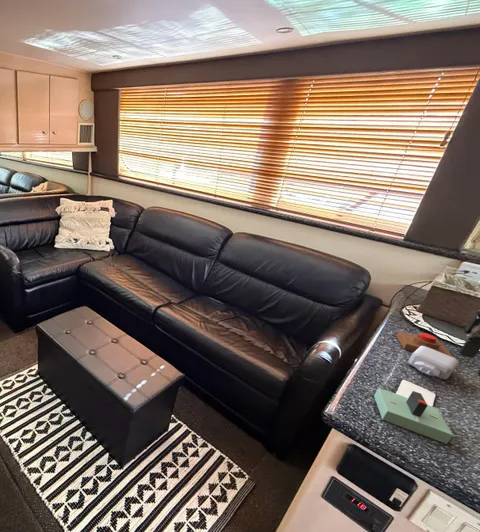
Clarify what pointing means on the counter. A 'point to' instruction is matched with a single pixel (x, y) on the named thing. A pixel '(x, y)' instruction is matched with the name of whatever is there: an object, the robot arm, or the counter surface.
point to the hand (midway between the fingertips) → (474, 366)
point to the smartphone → (408, 388)
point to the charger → (433, 362)
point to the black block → (416, 403)
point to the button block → (420, 343)
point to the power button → (428, 337)
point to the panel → (412, 416)
